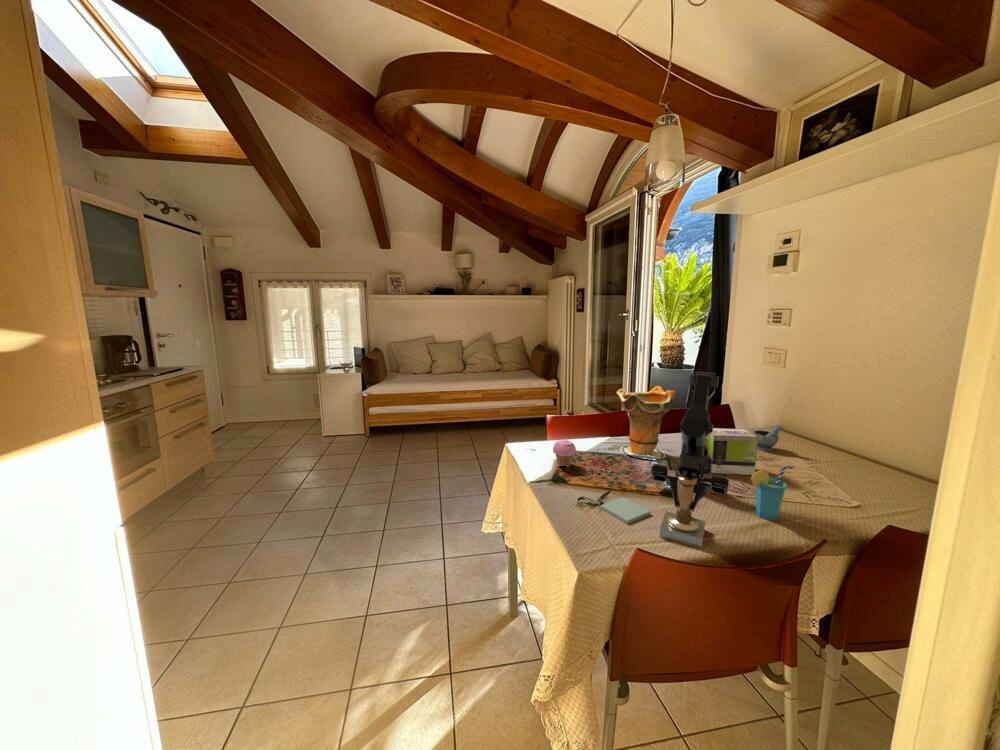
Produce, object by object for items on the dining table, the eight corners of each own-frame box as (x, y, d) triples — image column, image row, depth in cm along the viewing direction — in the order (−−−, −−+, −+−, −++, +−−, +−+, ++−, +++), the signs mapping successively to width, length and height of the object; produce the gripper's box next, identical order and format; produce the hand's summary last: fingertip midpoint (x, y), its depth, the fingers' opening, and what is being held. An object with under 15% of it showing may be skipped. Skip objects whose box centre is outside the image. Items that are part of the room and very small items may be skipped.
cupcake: (575, 471, 148) (576, 445, 146) (551, 469, 149) (552, 443, 148) (575, 461, 157) (576, 437, 155) (552, 460, 158) (553, 435, 156)
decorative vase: (602, 446, 172) (609, 382, 168) (645, 443, 181) (653, 382, 176) (634, 464, 153) (643, 392, 149) (681, 460, 162) (690, 392, 157)
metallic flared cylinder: (662, 525, 111) (667, 471, 108) (690, 525, 111) (695, 472, 108) (673, 541, 104) (678, 484, 101) (703, 541, 103) (709, 484, 101)
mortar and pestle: (745, 447, 175) (748, 420, 173) (758, 443, 179) (761, 417, 177) (772, 455, 165) (776, 427, 163) (785, 451, 170) (789, 424, 168)
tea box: (742, 465, 155) (746, 428, 152) (754, 476, 145) (759, 437, 142) (700, 463, 157) (704, 426, 154) (710, 473, 147) (714, 434, 144)
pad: (623, 501, 125) (623, 497, 125) (650, 515, 117) (650, 511, 116) (600, 510, 120) (600, 505, 120) (626, 525, 111) (627, 520, 111)
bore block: (664, 521, 114) (665, 511, 113) (704, 531, 109) (705, 520, 109) (659, 538, 105) (660, 527, 105) (701, 550, 101) (702, 539, 100)
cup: (774, 506, 123) (781, 459, 121) (800, 518, 116) (807, 469, 113) (738, 512, 119) (744, 464, 117) (762, 525, 112) (769, 475, 109)
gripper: (654, 435, 111) (644, 488, 103) (732, 447, 102) (727, 507, 94) (657, 453, 119) (647, 504, 112) (729, 466, 110) (724, 522, 102)
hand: (684, 508), depth 105 cm, fingers closed on metallic flared cylinder, 4 cm apart
